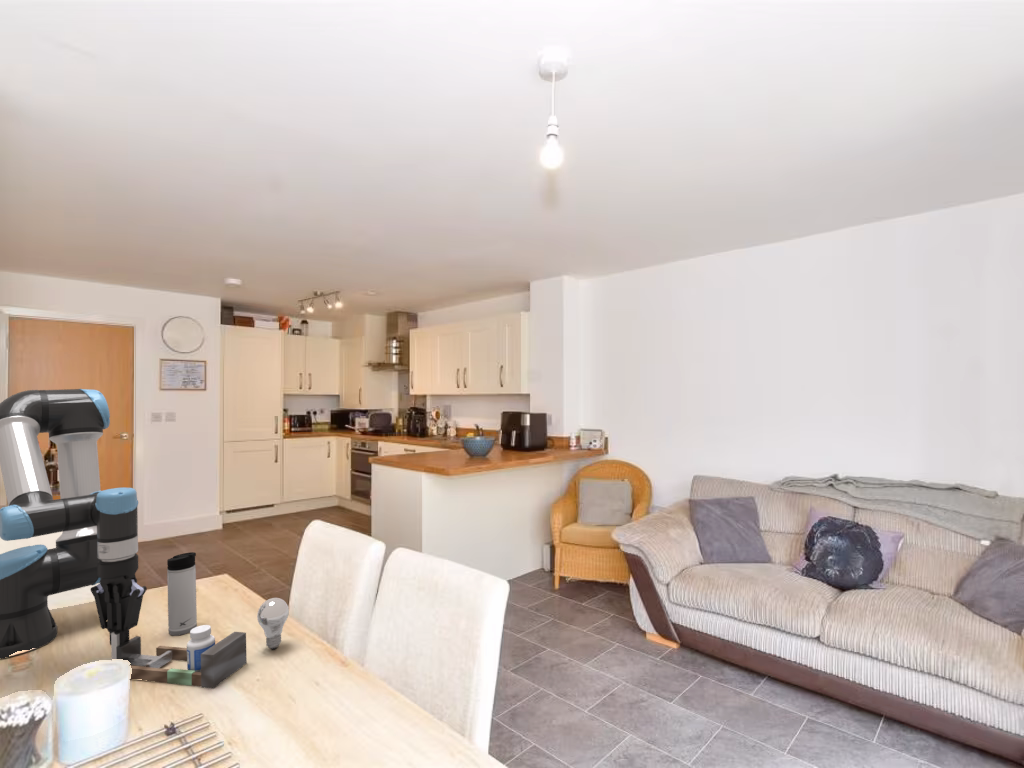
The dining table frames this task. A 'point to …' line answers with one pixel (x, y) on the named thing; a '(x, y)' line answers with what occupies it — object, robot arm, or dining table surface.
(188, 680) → the frame
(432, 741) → the dining table surface
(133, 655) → the grey u-channel bracket
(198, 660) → the pill bottle
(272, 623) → the light bulb
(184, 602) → the travel mug
